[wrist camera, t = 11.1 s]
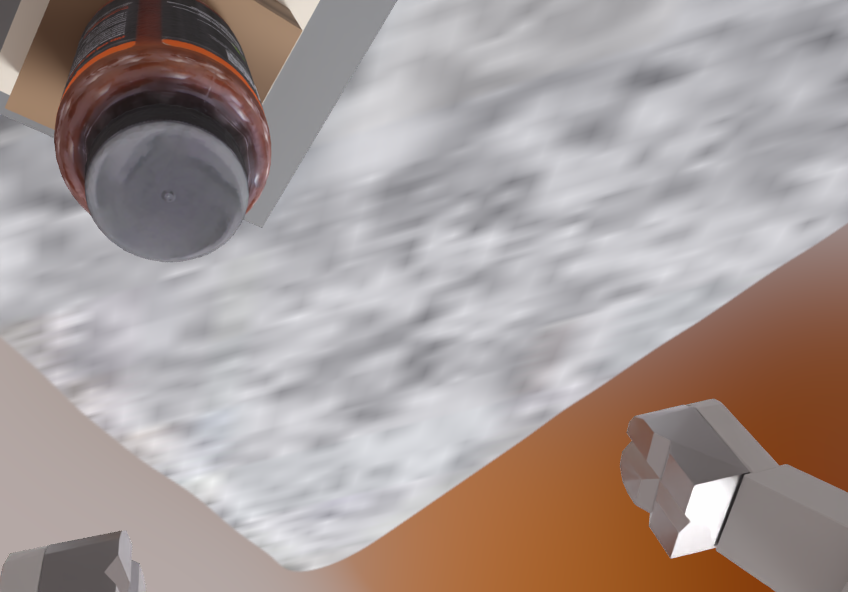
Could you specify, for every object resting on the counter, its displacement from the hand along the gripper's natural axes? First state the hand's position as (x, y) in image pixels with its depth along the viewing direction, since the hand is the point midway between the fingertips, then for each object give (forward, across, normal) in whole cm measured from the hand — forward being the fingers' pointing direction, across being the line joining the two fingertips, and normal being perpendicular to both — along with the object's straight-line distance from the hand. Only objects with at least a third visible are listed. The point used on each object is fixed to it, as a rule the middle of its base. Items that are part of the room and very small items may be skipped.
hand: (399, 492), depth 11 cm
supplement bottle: (+22, +4, -1) cm, 22 cm away
